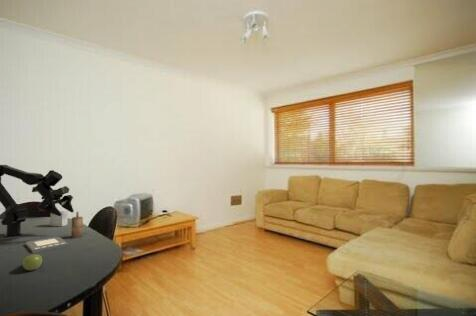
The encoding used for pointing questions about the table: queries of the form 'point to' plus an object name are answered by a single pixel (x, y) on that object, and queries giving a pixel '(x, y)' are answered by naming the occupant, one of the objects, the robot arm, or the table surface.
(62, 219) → the medicine box
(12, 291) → the table surface
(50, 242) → the grey flat block
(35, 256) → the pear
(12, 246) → the table surface
